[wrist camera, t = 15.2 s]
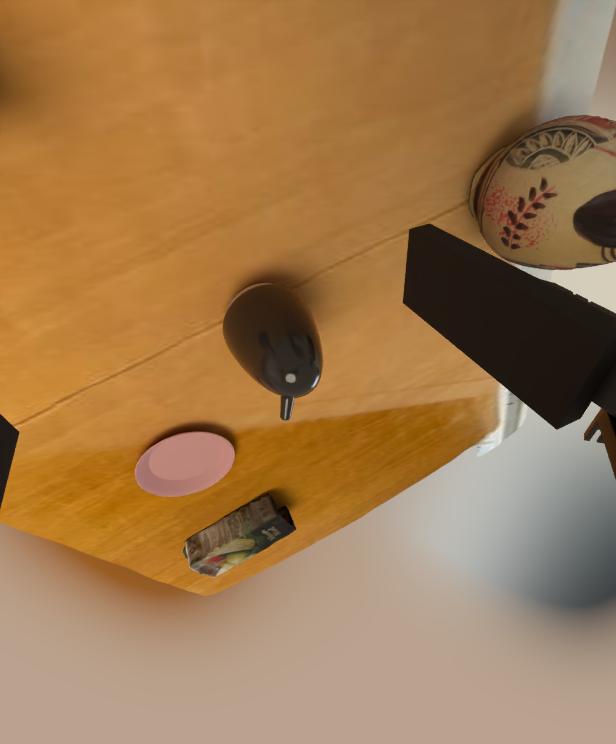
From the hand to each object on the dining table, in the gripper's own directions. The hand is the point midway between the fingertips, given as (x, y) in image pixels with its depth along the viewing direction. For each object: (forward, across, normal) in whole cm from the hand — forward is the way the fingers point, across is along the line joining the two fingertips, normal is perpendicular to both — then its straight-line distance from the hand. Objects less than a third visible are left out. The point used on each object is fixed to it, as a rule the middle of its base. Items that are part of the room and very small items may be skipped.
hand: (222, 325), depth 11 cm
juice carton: (+29, -8, -64) cm, 71 cm away
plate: (+29, -10, -39) cm, 50 cm away
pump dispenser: (+29, +6, -18) cm, 35 cm away
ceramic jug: (+29, +40, -10) cm, 50 cm away
